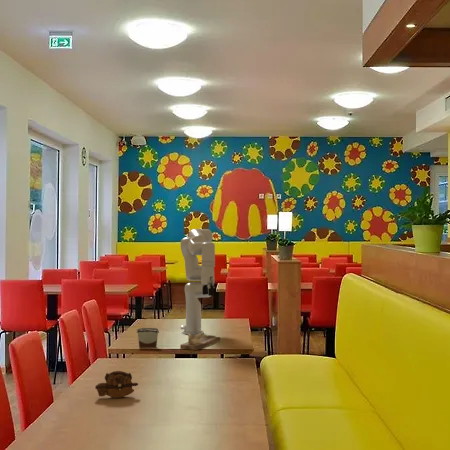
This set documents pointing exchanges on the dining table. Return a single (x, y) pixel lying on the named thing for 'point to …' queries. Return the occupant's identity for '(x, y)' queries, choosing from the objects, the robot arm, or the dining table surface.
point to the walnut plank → (204, 342)
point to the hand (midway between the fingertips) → (208, 295)
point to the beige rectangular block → (194, 338)
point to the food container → (148, 337)
